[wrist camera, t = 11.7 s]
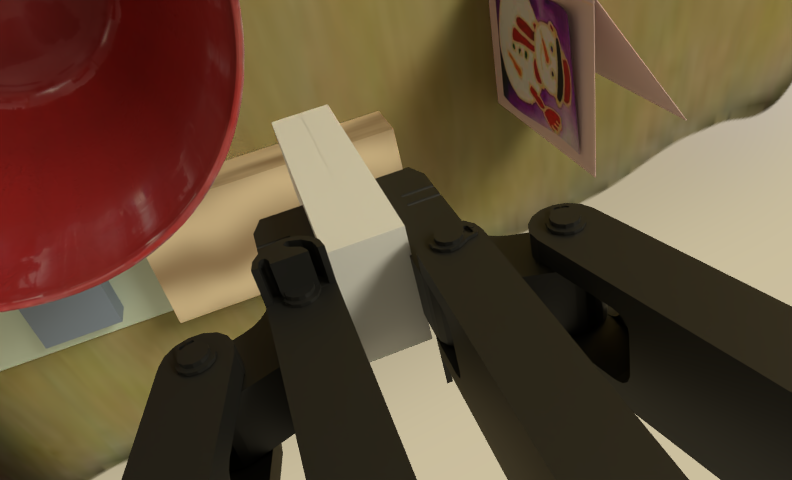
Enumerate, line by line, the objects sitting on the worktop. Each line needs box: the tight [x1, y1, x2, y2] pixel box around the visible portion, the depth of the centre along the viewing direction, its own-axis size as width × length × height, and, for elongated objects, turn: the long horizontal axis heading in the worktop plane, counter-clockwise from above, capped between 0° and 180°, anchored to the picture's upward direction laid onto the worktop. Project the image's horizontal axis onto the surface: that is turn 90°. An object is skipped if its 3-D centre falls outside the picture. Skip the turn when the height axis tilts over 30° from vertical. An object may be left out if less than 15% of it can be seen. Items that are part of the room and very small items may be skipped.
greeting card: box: [489, 0, 686, 177], centre depth 46 cm, size 11×7×15 cm, turn 11°
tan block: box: [146, 111, 403, 323], centre depth 52 cm, size 10×20×4 cm, turn 103°
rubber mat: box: [0, 258, 173, 371], centre depth 52 cm, size 11×17×1 cm, turn 103°
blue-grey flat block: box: [18, 281, 124, 349], centre depth 51 cm, size 8×6×2 cm
